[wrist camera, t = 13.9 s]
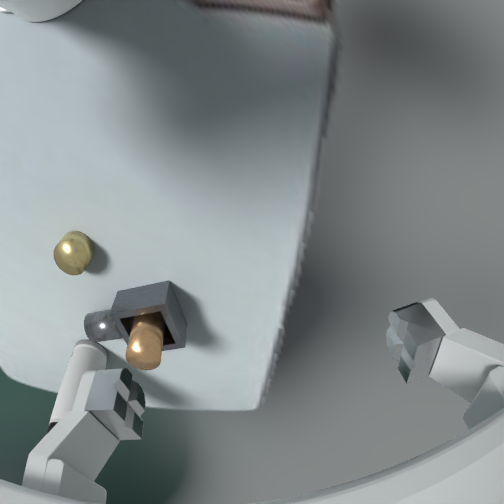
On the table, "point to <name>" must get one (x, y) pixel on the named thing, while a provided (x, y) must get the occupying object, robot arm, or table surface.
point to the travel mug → (77, 376)
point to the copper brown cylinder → (146, 341)
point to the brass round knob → (73, 253)
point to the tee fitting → (138, 303)
